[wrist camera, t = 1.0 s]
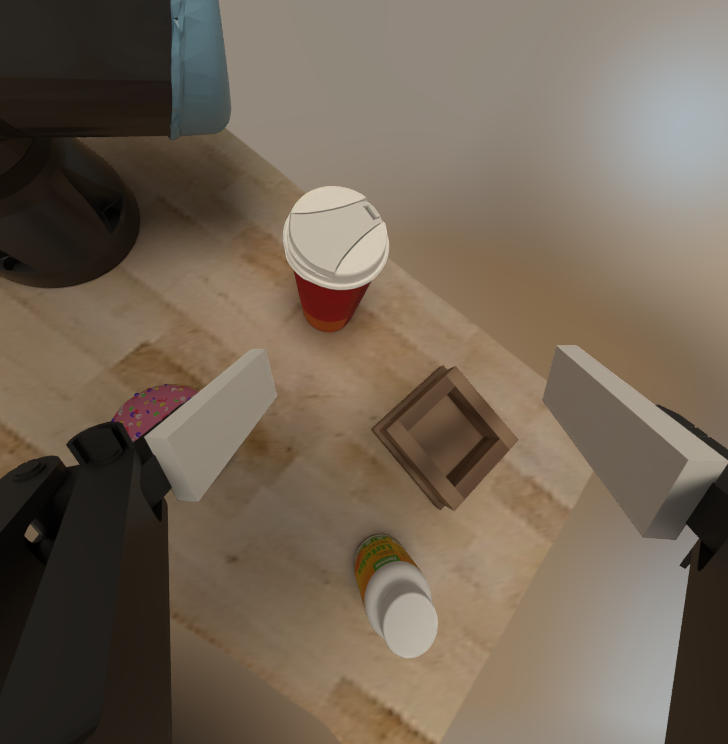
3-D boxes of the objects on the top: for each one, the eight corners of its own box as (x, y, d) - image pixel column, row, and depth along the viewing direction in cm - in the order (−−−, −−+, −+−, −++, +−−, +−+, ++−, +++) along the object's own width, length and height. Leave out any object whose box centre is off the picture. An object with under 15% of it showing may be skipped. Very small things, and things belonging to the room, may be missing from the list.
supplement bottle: (382, 521, 30) (414, 564, 21) (415, 562, 30) (462, 624, 21) (342, 560, 29) (356, 626, 19) (376, 604, 29) (407, 691, 19)
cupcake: (251, 448, 29) (212, 462, 18) (166, 498, 27) (58, 551, 16) (211, 375, 30) (147, 342, 18) (124, 418, 28) (-10, 412, 16)
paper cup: (335, 266, 34) (351, 163, 21) (373, 318, 34) (414, 247, 21) (278, 299, 32) (255, 208, 19) (318, 354, 32) (323, 302, 19)
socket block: (370, 429, 32) (379, 429, 28) (439, 367, 34) (455, 359, 31) (436, 507, 31) (454, 518, 27) (500, 438, 34) (524, 440, 30)
